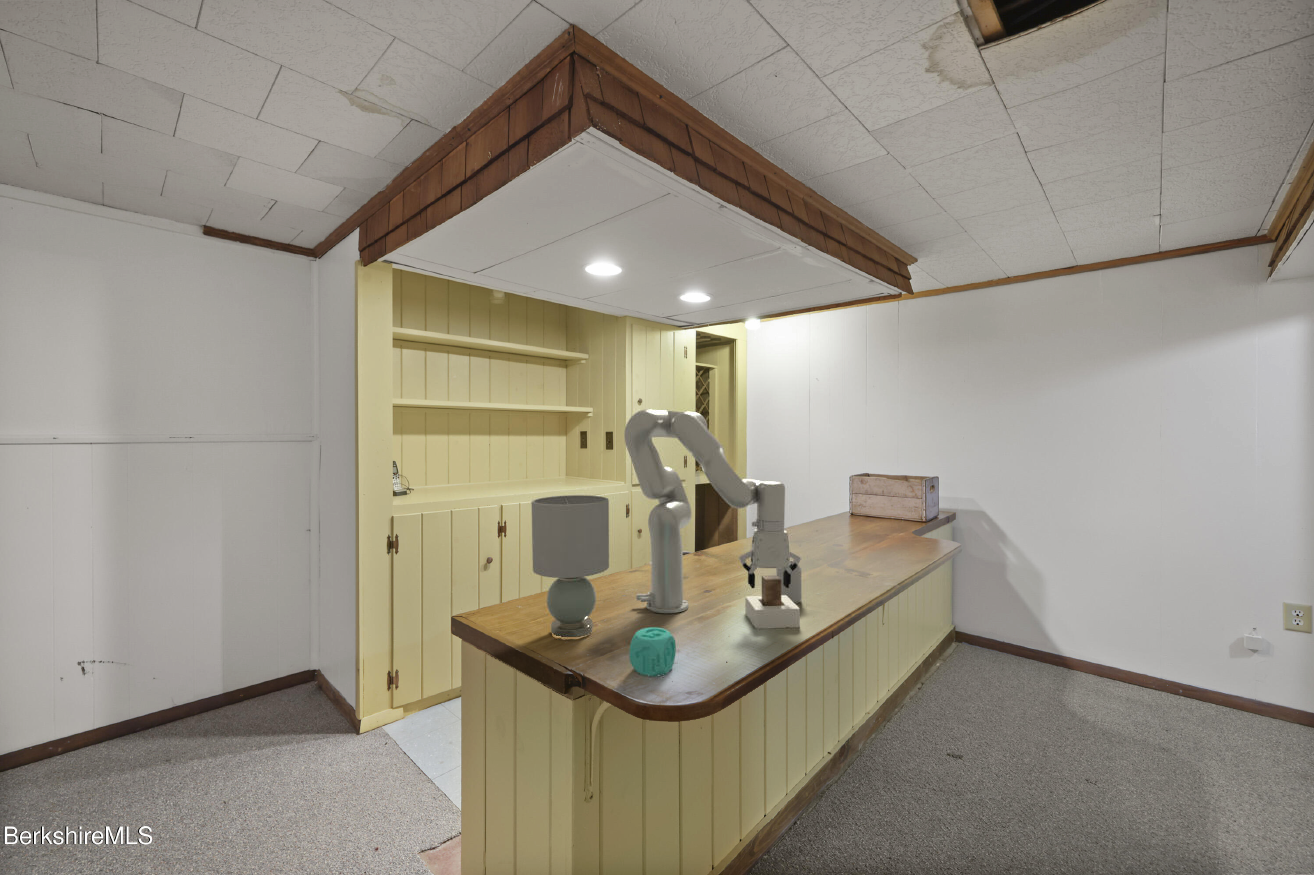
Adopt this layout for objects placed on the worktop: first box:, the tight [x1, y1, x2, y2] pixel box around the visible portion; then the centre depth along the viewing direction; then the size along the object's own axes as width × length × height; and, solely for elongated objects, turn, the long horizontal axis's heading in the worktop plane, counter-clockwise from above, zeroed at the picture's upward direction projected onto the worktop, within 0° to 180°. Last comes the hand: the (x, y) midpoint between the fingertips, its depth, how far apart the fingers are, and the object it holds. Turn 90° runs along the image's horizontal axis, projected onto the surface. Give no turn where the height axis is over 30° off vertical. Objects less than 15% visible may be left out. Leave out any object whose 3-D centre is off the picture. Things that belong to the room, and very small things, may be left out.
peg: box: [761, 574, 781, 606], centre depth 154 cm, size 4×4×12 cm
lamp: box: [530, 494, 610, 637], centre depth 146 cm, size 20×20×35 cm
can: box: [775, 560, 803, 605], centre depth 170 cm, size 8×8×12 cm
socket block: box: [744, 595, 801, 629], centre depth 154 cm, size 12×12×5 cm
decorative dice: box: [628, 627, 677, 677], centre depth 123 cm, size 8×8×8 cm
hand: (769, 586), depth 154 cm, fingers open, 9 cm apart
